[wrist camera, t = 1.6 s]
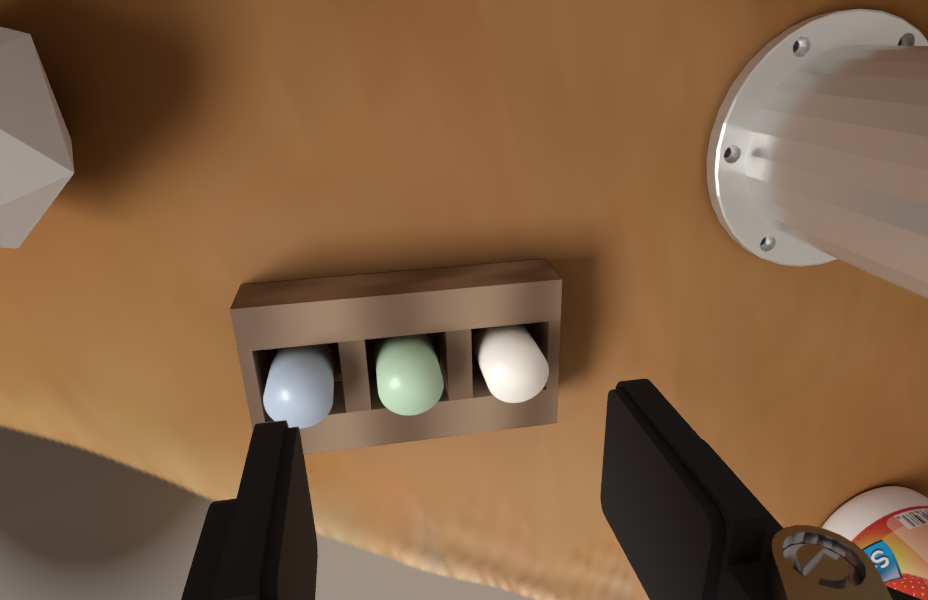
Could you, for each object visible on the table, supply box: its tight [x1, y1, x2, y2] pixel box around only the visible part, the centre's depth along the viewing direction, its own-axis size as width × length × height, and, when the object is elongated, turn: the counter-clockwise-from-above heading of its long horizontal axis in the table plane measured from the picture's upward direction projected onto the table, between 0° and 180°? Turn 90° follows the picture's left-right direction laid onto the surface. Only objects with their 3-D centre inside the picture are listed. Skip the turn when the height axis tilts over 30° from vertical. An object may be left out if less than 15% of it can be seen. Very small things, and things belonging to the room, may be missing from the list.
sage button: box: [375, 333, 444, 415], centre depth 30 cm, size 3×3×4 cm
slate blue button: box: [263, 344, 335, 429], centre depth 29 cm, size 3×3×4 cm
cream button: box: [473, 324, 549, 403], centre depth 31 cm, size 3×3×4 cm
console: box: [230, 259, 562, 455], centre depth 31 cm, size 15×8×3 cm, turn 92°
